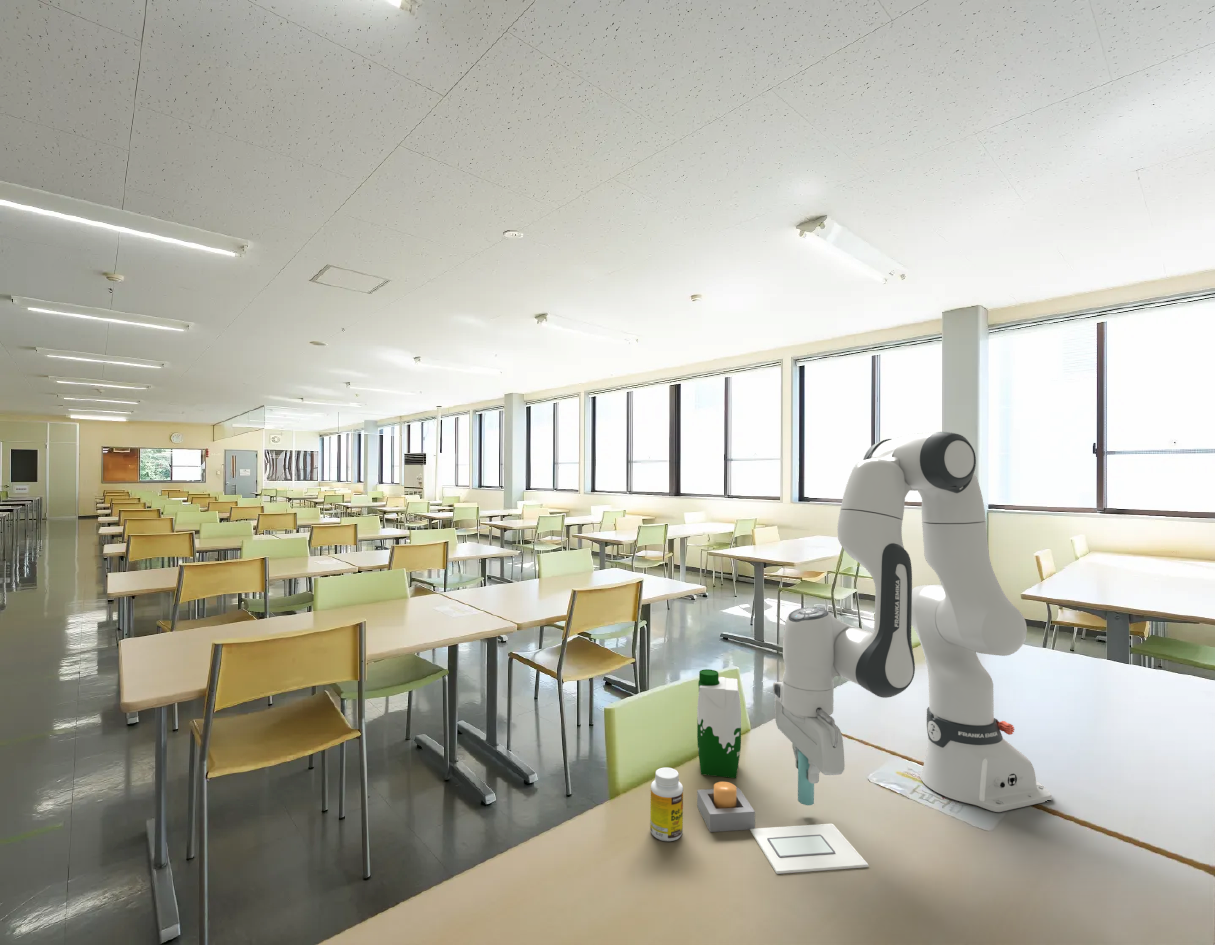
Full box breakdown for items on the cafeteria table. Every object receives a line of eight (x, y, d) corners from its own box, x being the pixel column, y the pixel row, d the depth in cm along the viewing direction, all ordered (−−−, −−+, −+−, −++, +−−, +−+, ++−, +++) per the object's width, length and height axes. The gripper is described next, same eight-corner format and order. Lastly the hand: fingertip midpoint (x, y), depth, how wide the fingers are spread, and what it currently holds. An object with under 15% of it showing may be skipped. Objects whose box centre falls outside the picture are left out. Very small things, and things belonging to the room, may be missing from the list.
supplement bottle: (672, 847, 94) (673, 784, 95) (644, 835, 98) (644, 774, 98) (688, 831, 99) (689, 770, 99) (660, 820, 102) (661, 761, 102)
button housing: (738, 803, 107) (738, 787, 108) (754, 829, 100) (754, 811, 100) (697, 806, 106) (697, 789, 107) (709, 831, 99) (710, 814, 99)
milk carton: (698, 756, 126) (698, 665, 127) (740, 761, 124) (740, 668, 125) (696, 776, 118) (696, 678, 118) (741, 781, 116) (741, 681, 116)
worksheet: (832, 825, 101) (832, 822, 101) (868, 867, 90) (868, 863, 90) (750, 831, 99) (750, 828, 99) (776, 873, 88) (776, 870, 88)
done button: (732, 799, 105) (732, 781, 105) (739, 812, 101) (739, 792, 101) (710, 801, 105) (711, 782, 105) (717, 813, 101) (717, 793, 101)
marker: (809, 796, 106) (810, 740, 106) (816, 805, 103) (817, 747, 103) (795, 797, 106) (795, 741, 106) (801, 805, 103) (802, 748, 103)
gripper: (854, 721, 95) (854, 806, 95) (799, 680, 115) (798, 749, 115) (818, 722, 94) (817, 808, 94) (769, 680, 114) (768, 750, 114)
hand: (806, 775), depth 104 cm, fingers closed on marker, 3 cm apart
